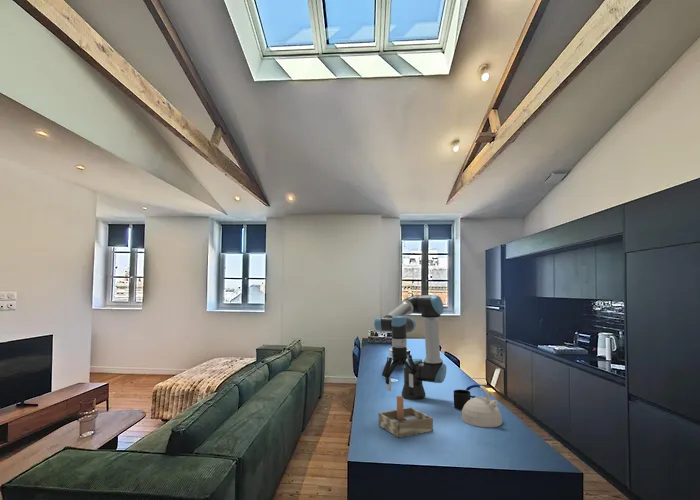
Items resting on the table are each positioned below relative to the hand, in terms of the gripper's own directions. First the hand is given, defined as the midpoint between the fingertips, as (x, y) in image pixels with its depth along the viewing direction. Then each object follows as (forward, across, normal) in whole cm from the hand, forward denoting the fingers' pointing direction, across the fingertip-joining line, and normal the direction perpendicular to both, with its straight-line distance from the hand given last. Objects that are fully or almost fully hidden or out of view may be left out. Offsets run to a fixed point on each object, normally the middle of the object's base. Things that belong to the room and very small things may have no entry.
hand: (400, 388), depth 195 cm
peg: (+18, -1, 0) cm, 18 cm away
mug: (+19, +48, +6) cm, 52 cm away
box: (+18, -1, -5) cm, 18 cm away
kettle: (+19, +41, -14) cm, 47 cm away
